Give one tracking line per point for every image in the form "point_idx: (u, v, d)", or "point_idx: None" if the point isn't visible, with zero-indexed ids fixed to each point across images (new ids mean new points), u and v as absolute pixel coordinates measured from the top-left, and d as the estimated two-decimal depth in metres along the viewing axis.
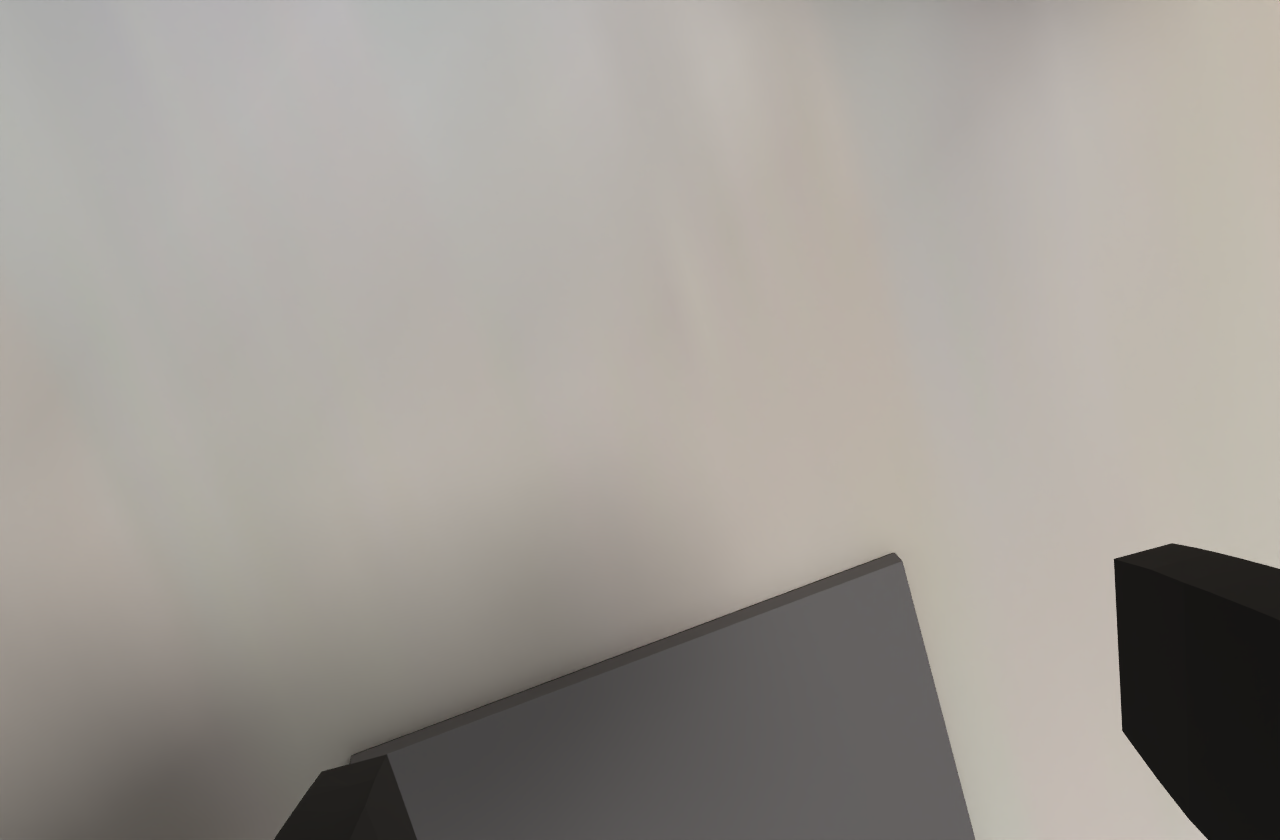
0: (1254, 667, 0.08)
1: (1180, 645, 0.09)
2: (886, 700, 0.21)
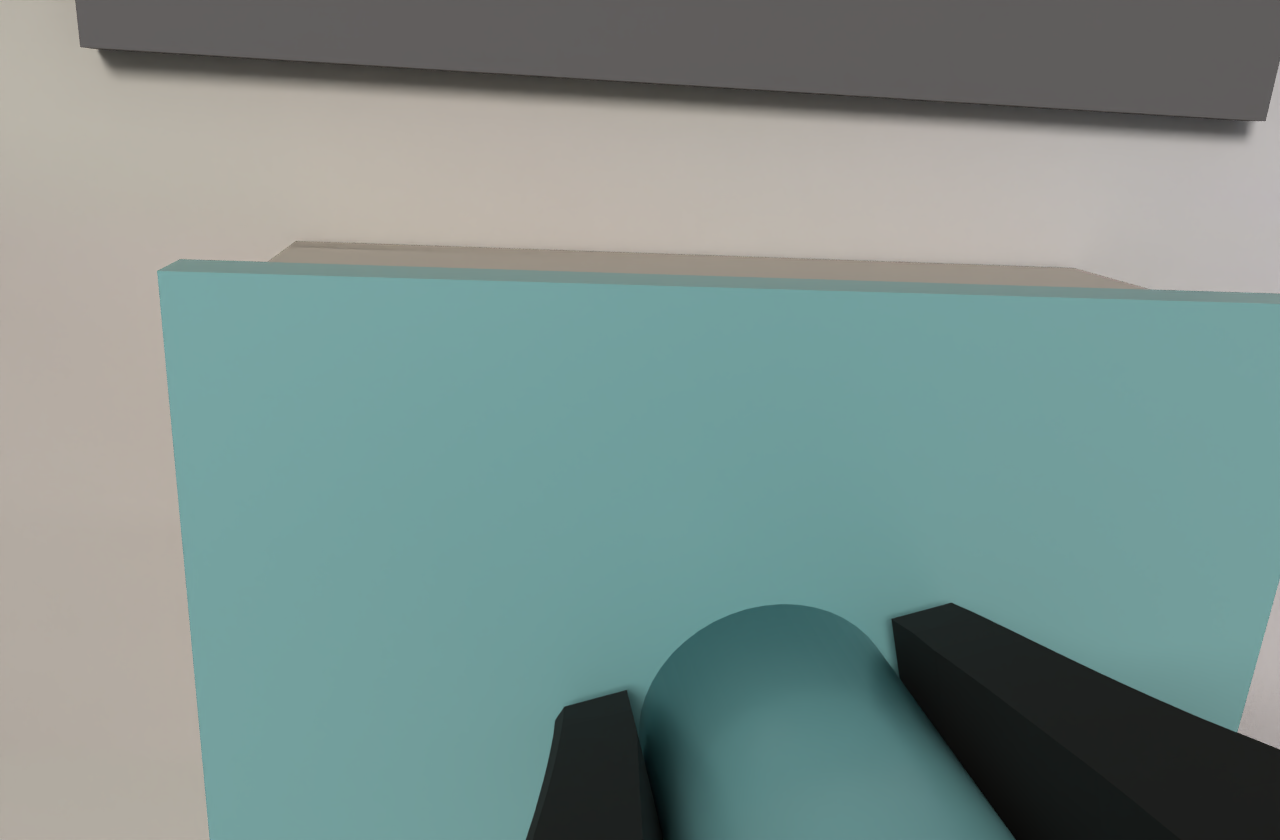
0: (988, 742, 0.08)
1: (939, 712, 0.08)
2: None
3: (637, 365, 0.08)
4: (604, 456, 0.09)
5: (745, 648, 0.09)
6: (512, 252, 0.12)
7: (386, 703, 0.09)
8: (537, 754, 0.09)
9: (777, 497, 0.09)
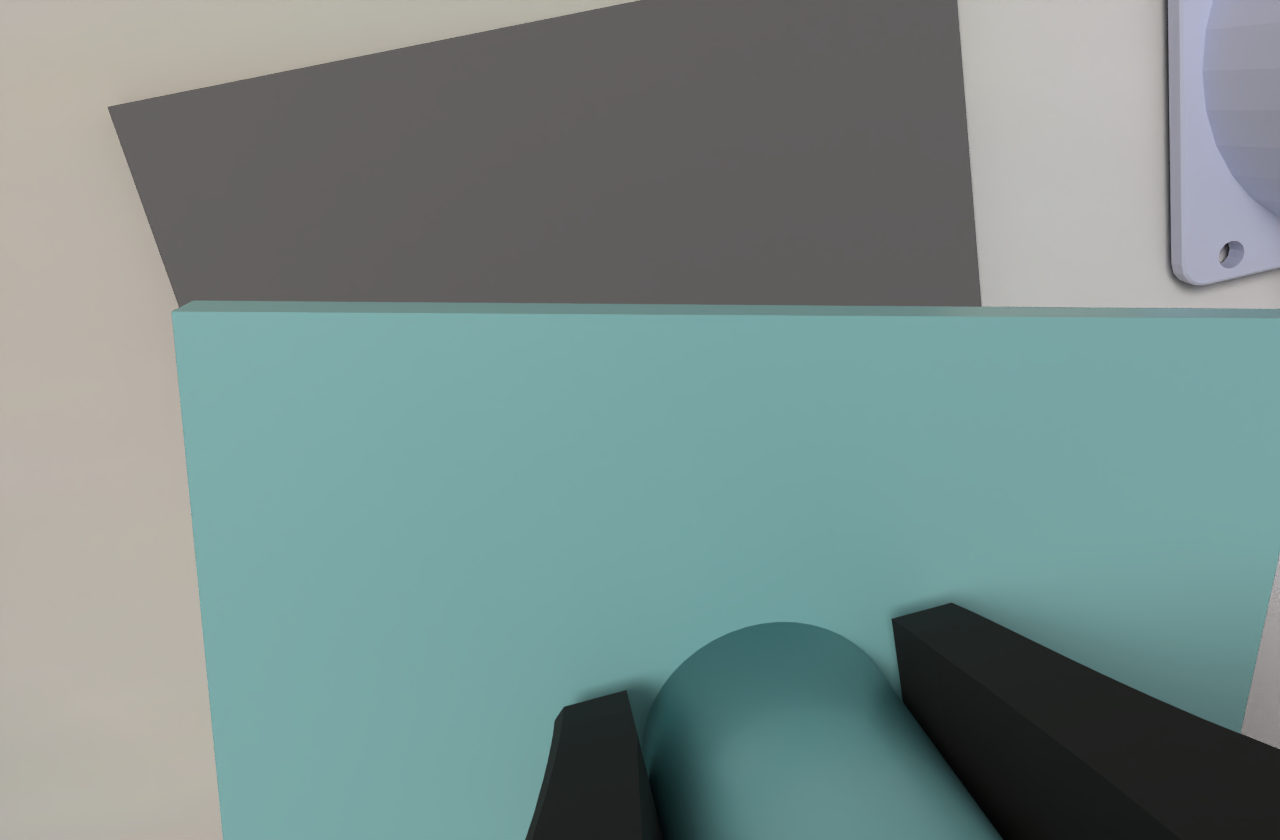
0: (988, 741, 0.08)
1: (939, 712, 0.08)
2: (328, 138, 0.16)
3: (630, 391, 0.09)
4: (601, 480, 0.09)
5: (742, 665, 0.09)
6: None
7: (395, 726, 0.09)
8: (543, 774, 0.10)
9: (770, 517, 0.09)
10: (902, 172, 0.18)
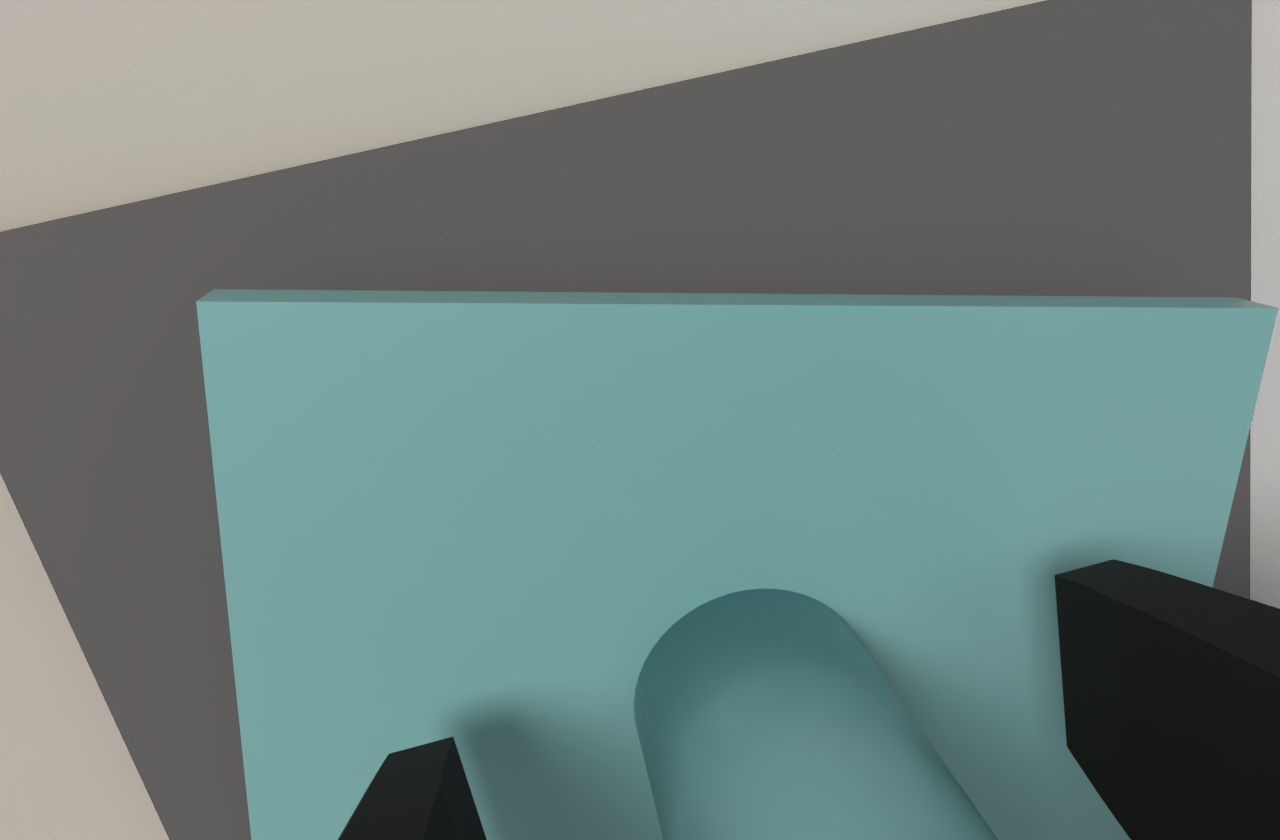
0: (1183, 687, 0.08)
1: (1116, 663, 0.09)
2: None
3: (624, 375, 0.09)
4: (596, 458, 0.10)
5: (727, 628, 0.10)
6: None
7: (404, 683, 0.10)
8: (542, 728, 0.10)
9: (754, 491, 0.10)
10: None
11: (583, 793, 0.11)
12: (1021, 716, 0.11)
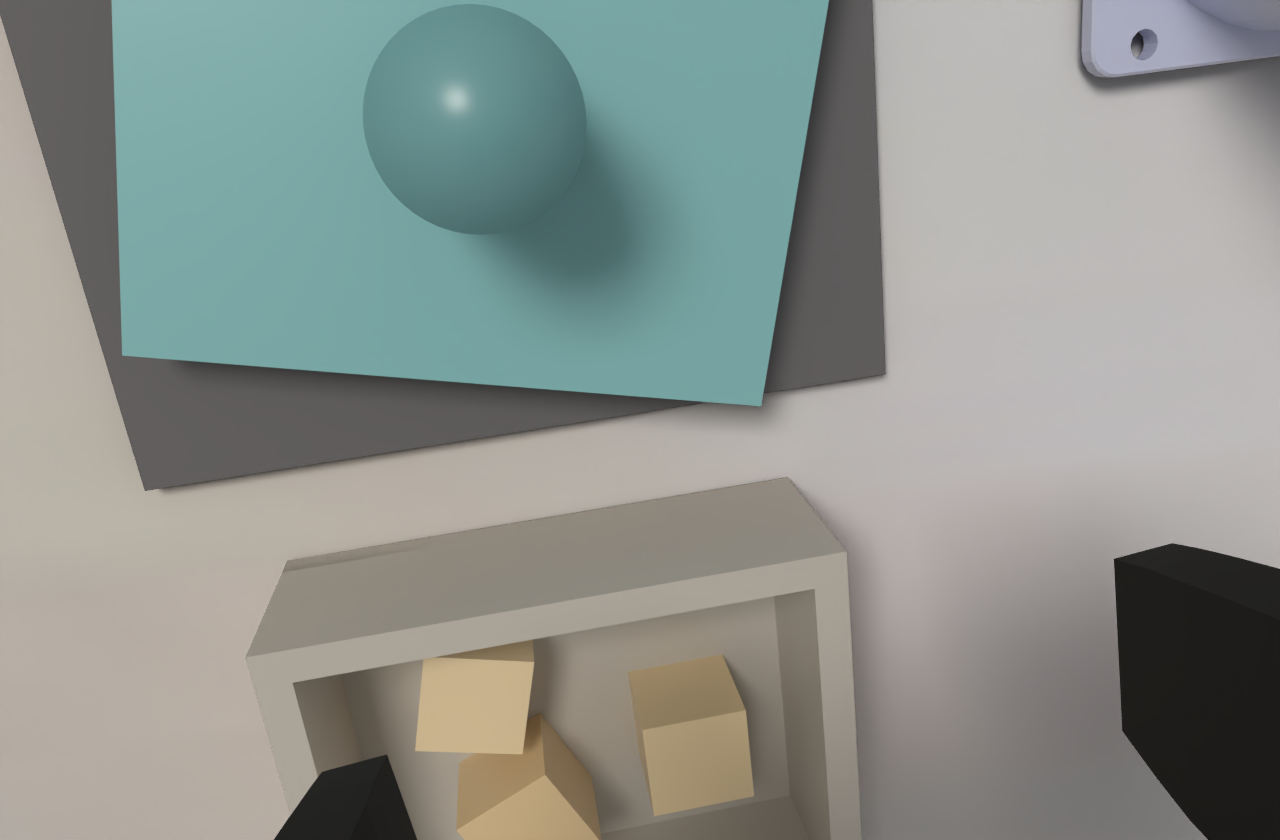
0: (1254, 667, 0.08)
1: (1180, 645, 0.09)
2: None
3: None
4: None
5: None
6: (417, 545, 0.19)
7: (231, 59, 0.15)
8: (327, 115, 0.15)
9: None
10: None
11: (356, 177, 0.15)
12: (676, 173, 0.16)
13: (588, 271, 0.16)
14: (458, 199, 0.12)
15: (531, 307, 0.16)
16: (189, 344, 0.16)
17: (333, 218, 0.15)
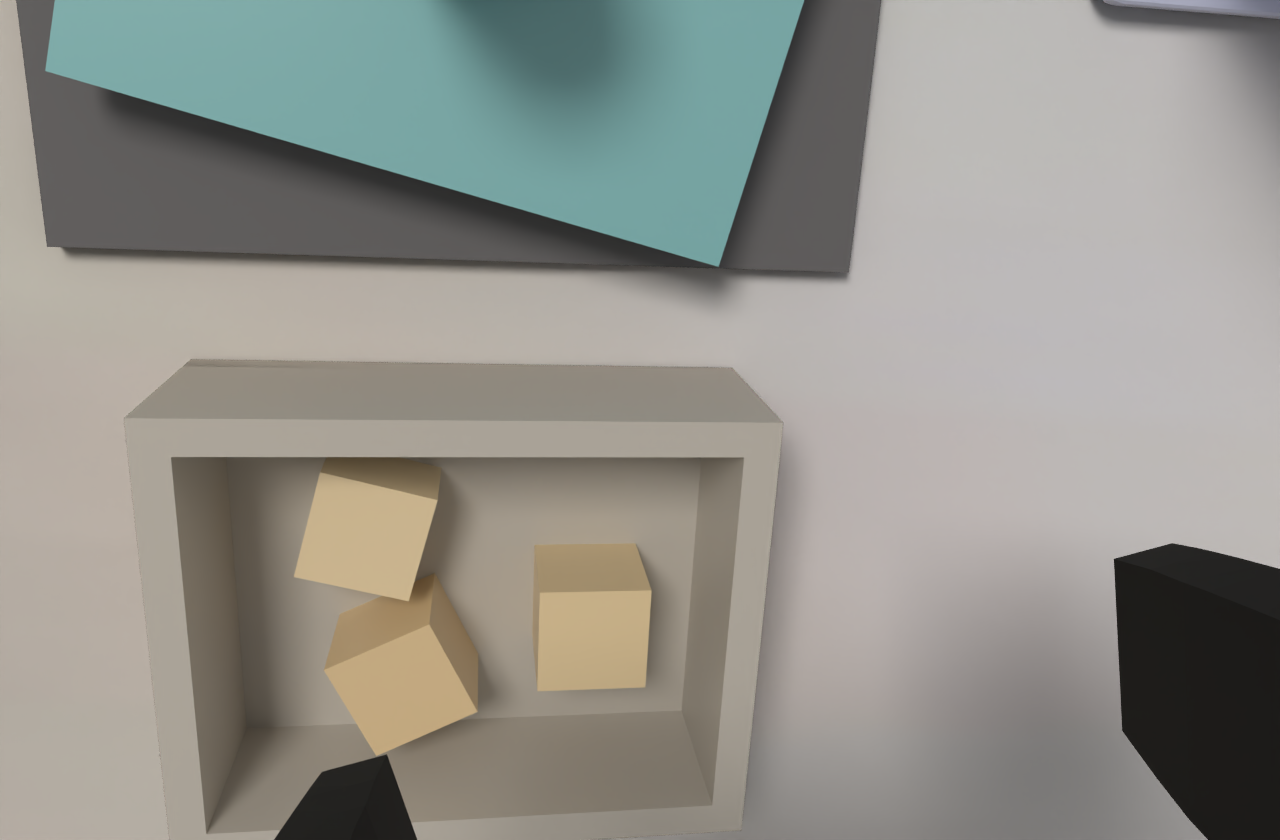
0: (1254, 667, 0.08)
1: (1180, 645, 0.09)
2: None
3: None
4: None
5: None
6: (334, 366, 0.18)
7: None
8: None
9: None
10: None
11: None
12: None
13: (563, 82, 0.15)
14: None
15: (496, 109, 0.15)
16: (121, 73, 0.14)
17: None
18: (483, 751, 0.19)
